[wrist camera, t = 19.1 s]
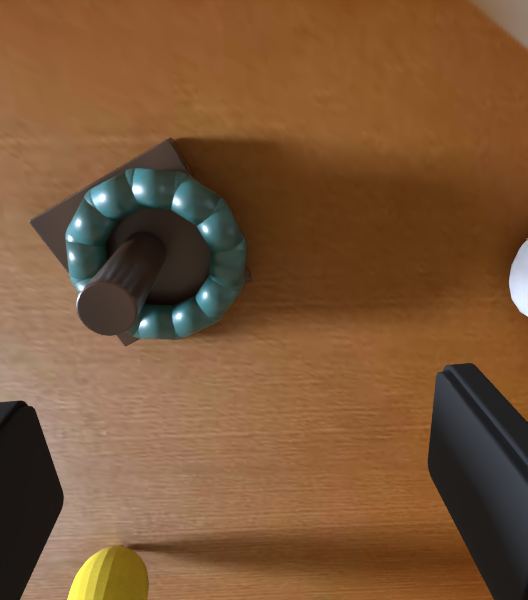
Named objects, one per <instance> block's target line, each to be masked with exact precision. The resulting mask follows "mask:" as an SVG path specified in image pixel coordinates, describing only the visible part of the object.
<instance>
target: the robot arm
mask: <svg viewBox="0 0 528 600" xmlns="http://www.w3.org/2000/svg"><path fill="white" fill-rule="evenodd" d="M428 468H429V472H430V476H431V478H432V480H433V482H434V484H435V486H436V488H437V490H438V492H439V494H440V495H441V497H442V499H443V501H444V503H445V505H446V507H447V509H448V511H449V513H450V515H451V517H452V519H453V521H454V523H455V525H456V527H457V529H458V530H459V532H460V534H461V536H462V538H463V540H464V542H465V544H466V546H467V548H468V550H469V552H470V554H471V556H472V558H473V560H474V562H475V563H476V565H477V567H478V569H479V571H480V573H481V575H482V577H483V579H484V581H485V583H486V585H487V587H488V589H489V591H490V593H491V595H492V596H493V598H494V600H528V422H527V421H526V420H525V419H524V418H523V417H522V416H521V415H520V414H519V413H518V411H517V410H516V409H515V408H514V407H513V406H512V405H511V404H510V403H509V402H508V401H507V400H506V398H505V397H504V396H503V395H502V394H501V393H500V392H499V391H498V390H497V389H496V388H495V386H494V385H493V384H492V383H491V382H490V381H489V380H488V379H487V378H486V377H485V376H484V375H483V373H482V372H481V371H480V370H479V369H478V368H477V367H476V366H475V365H474V364H472V363H466V364H454V365H446V366H445V368H444V370H443V372H438V373H437V376H436V384H435V394H434V404H433V414H432V424H431V434H430V444H429V454H428ZM63 500H64V496H63V491H62V488H61V485H60V482H59V479H58V476H57V473H56V470H55V467H54V464H53V461H52V458H51V455H50V452H49V449H48V446H47V443H46V440H45V437H44V434H43V431H42V429H41V426H40V423H39V420H38V417H37V414H36V411H35V409H34V408H33V407H31V406H28V405H27V404H26V403H25V402H24V401H10V402H0V600H20V598H21V596H22V594H23V592H24V589H25V587H26V585H27V583H28V581H29V579H30V577H31V574H32V572H33V570H34V568H35V566H36V564H37V561H38V559H39V557H40V555H41V553H42V551H43V548H44V546H45V544H46V542H47V540H48V538H49V535H50V533H51V531H52V529H53V527H54V525H55V523H56V520H57V518H58V516H59V514H60V512H61V509H62V506H63Z"/></svg>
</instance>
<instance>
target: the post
mask: <svg viewBox="0 0 528 600" xmlns="http://www.w3.org/2000/svg"><path fill="white" fill-rule="evenodd" d="M131 168H144V169H159V170H173V171H181V172H184V173H186V174H188V175H189V176H191V177H192V178H194V179H195V177H194V175H193V174H192V172H191V170H190V168H189V167H188V165H187V163H186V162H185V160H184V158H183V156H182V155H181V153H180V151H179V150H178V148H177V146H176V144H175V143H174V141H173V139H172V138H168V139H166V140H165V141H163V142H161V143H160V144H158V145H156V146H154V147H153V148H151V149H149V150H148V151H146V152H144V153H143V154H141V155H139V156H138V157H136V158H134V159H133V160H131V161H129V162H127V163H126V164H124V165H122V166H121V167H119V168H117V169H116V170H114V171H112V172H111V173H109V174H107V175H106V176H104V177H102V178H100V179H99V180H97V181H95V182H94V183H92V184H90V185H89V186H87V187H85V188H84V189H82V190H80V191H78V192H77V193H75V194H73V195H72V196H70V197H68V198H67V199H65V200H63V201H62V202H60V203H58V204H57V205H55V206H53V207H51V208H50V209H48V210H46V211H45V212H43V213H41V214H40V215H38V216H36V217H35V218H33V219H31V220H30V221H29V223H30V224H31V225H32V227H33V228H34V229H35V230H36V232H37V233H38V234H39V236H40V237H41V238H42V240H43V241H44V242H45V243H46V245H47V246H48V247H49V249H50V250H51V251H52V252H53V254H54V255H55V256H56V258H57V259H58V260H59V262H60V263H61V264H62V265H63V267H64V268H65V269H66V271H67V272H68V273H69V268H68V259H67V249H66V240H65V235H66V230H67V228H68V226H69V224H70V223H71V221H72V219H73V217H74V215H75V213H76V211H77V209H78V207H79V205H80V203H81V202H82V200H83V198H84V196H85V194H86V193H87V192H88V191H89V190H90V189H92V188H94V187H95V186H97V185H99V184H101V183H103V182H105V181H107V180H109V179H111V178H112V177H114V176H116V175H118V174H120V173H122V172H124V171H126V170H128V169H131ZM195 180H196V179H195ZM106 249H107V262H106V263H105V264H104V266H103V267H102V268H101V269H100V270H99V271H98V272H97V274H96V275H95V276H94V277H93V278H92V279H91V280H90V282H89V283H88V284H87V285H86V286H85V287H84V288H83V290H82V291H81V292H80V294H79V296H78V298H77V303H76V307H77V313H78V316H79V318H80V320H81V321H82V322H83V324H84V325H85V326H86V327H87V328H89V329H90V330H92V331H94V332H96V333H98V334H101V335H108V336H112V335H117V337H118V338H119V339H120V341H121V342H122V343H123V344H124V346H127V345H129V344H131V343H133V342H135V341H137V340H139V339H141V338H136V337H133V336H131V335H129V334H128V333H126V331H127V330H129V329H130V328H131V327H132V326H133V324H134V323H135V321H136V319H137V317H138V315H139V313H140V311H141V308H142V306H143V304H144V303H146V304H153V305H176V304H178V303H180V302H182V301H184V300H186V299H188V298H190V297H192V296H194V295H196V294H197V293H198V291H199V290H200V288H201V287H202V285H203V284H204V282H205V281H206V279H207V277H208V276H209V268H210V249H209V247H208V245H207V244H206V242H205V240H204V238H203V237H202V235H201V233H200V231H199V229H198V228H197V226H196V225H194V224H193V223H191V222H190V221H188V220H186V219H185V218H183V217H182V216H180V215H178V214H177V213H175V212H174V211H172V210H162V209H145V208H142V209H140V210H138V211H136V212H134V213H132V214H130V215H128V216H126V217H125V218H123V219H121V220H119V221H118V222H117V224H116V226H115V228H114V229H113V231H112V233H111V235H110V237H109V238H108V240H107V242H106ZM249 281H251V273H250V271H249V269H248V268H247V266H245V282H244V284H245V283H247V282H249Z"/></svg>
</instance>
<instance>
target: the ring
mask: <svg viewBox="0 0 528 600" xmlns="http://www.w3.org/2000/svg"><path fill="white" fill-rule="evenodd" d="M142 208H145V209H162V210H172V211H174V212H175V213H177V214H178V215H180V216H182V217H183V218H185V219H186V220H188V221H190V222H191V223H193V224H194V225H196V226H197V228H198V229H199V231H200V233H201V235H202V237H203V238H204V240H205V242H206V244H207V245H208V247H209V249H210V268H209V276H208V277H207V279H206V281H205V282H204V284H203V285H202V287H201V288H200V290H199V291H198V293H197V294H196V295H194V296H192V297H190V298H188V299H186V300H184V301H182V302H180V303H178V304H176V305H153V304H146V303H144V304H143V306H142V308H141V311H140V313H139V315H138V317H137V319H136V321H135V323H134V324H133V326H132V327H131V328H130V329H129V330H127V331H126V333H128V334H129V335H131V336H133V337H136V338H143V339H170V340H179V339H183V338H186V337H188V336H190V335H192V334H194V333H197V332H199V331H201V330H203V329H205V328H207V327H209V326H211V325H214V324H216V323H217V322H219V321H220V320H221V319H222V318H223V316H224V315H225V313H226V312H227V310H228V309H229V308H230V306H231V305H232V303H233V302H234V300H235V299H236V298H237V296H238V295H239V293H240V292H241V290H242V289H243V286H244V282H245V266H246V249H247V243H246V239H245V237H244V235H243V233H242V231H241V229H240V227H239V225H238V223H237V222H236V220H235V218H234V216H233V214H232V212H231V210H230V208H229V206H228V204H227V202H226V201H225V200H224V199H223V198H222V197H221V196H219V195H218V194H216V193H215V192H213V191H212V190H210V189H209V188H207V187H206V186H204V185H203V184H201V183H200V182H198V181H197V180H195V179H194V178H192V177H191V176H189V175H188V174H186V173H184V172H181V171H173V170H159V169H144V168H131V169H128V170H126V171H124V172H122V173H120V174H118V175H116V176H114V177H112V178H111V179H109V180H107V181H105V182H103V183H101V184H99V185H97V186H95V187H94V188H92V189H90V190H89V191H88V192H87V193H86V194H85V196H84V198H83V200H82V202H81V203H80V205H79V207H78V209H77V211H76V213H75V215H74V217H73V219H72V221H71V223H70V224H69V226H68V228H67V230H66V235H65V240H66V249H67V259H68V268H69V277H70V280H71V282H72V284H73V285H74V286H75V288H76V289H77V291H78V292H79V293H80V292H81V291H82V290H83V288H84V287H85V286H86V285H87V284H88V283H89V282H90V280H91V279H92V278H93V277H94V276H95V275H96V274H97V272H98V271H99V270H100V269H101V268H102V267H103V266H104V264H105V263H106V262H107V249H106V242H107V240H108V238H109V237H110V235H111V233H112V231H113V229H114V228H115V226H116V224H117V222H118V221H119V220H121V219H123V218H125V217H126V216H128V215H130V214H132V213H134V212H136V211H138V210H140V209H142Z"/></svg>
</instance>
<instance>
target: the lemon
mask: <svg viewBox="0 0 528 600" xmlns="http://www.w3.org/2000/svg"><path fill="white" fill-rule="evenodd" d="M148 588H149V582H148V575H147V570H146V566H145V564H144V562H143V561H142V559H141V558H140V556H139V555H138V554H137V553H136V552H134V551H133V550H131V549H129V548H126V547H124V546H112V547H107V548H105V549H103V550H100V551H98V552H97V553H95V554H94V555H93V556H91V557H90V558H89V559H88V560H87V561H86V562H85V564H84V565H83V566H82V568H81V569H80V570H79V572H78V573H77V575H76V577H75V579H74V581H73V584H72V586H71V589H70V593H69V596H68V600H147V596H148Z"/></svg>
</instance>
